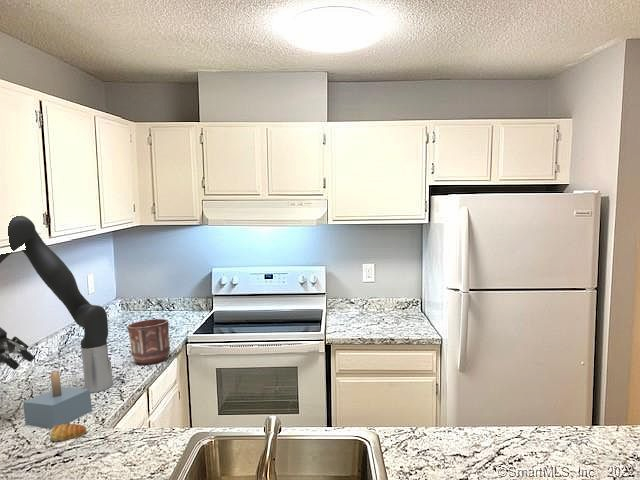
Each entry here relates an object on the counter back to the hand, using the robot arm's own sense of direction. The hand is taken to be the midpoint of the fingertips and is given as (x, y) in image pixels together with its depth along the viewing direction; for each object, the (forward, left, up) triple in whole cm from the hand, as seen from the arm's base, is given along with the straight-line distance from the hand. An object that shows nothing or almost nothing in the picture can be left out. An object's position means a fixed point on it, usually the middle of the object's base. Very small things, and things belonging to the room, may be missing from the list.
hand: (25, 363), depth 156 cm
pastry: (+6, +24, -20) cm, 32 cm away
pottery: (-64, -6, -20) cm, 67 cm away
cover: (-4, +8, -19) cm, 22 cm away
